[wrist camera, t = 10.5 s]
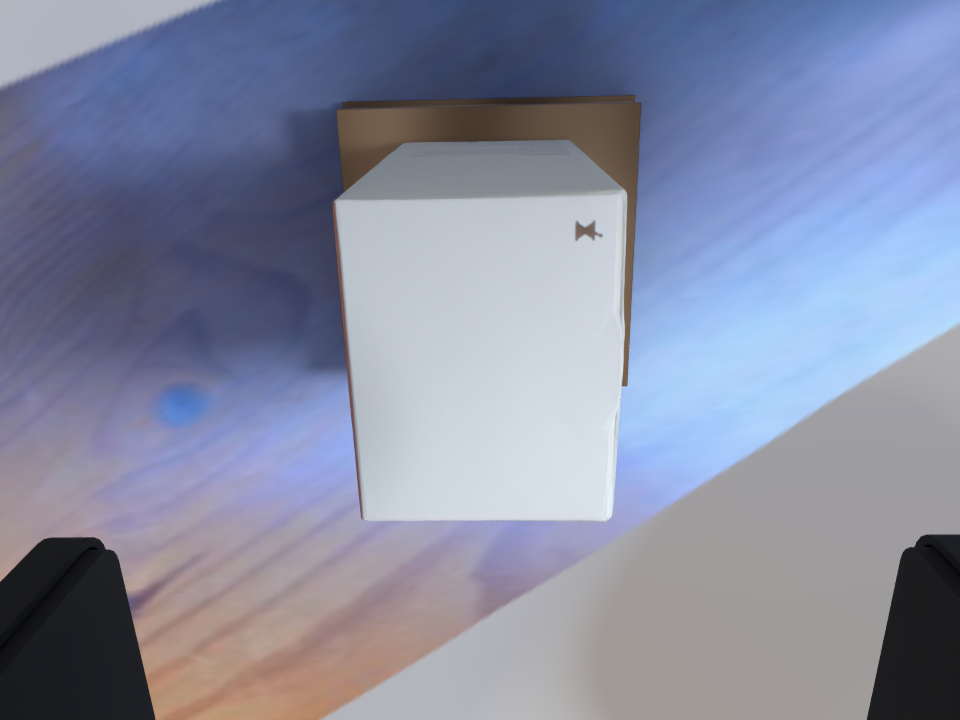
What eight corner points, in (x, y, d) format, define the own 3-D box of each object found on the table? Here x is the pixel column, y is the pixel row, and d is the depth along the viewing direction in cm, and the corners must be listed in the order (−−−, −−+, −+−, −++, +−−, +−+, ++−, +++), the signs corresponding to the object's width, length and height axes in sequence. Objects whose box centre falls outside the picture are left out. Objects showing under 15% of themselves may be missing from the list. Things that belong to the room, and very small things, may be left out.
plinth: (632, 95, 30) (646, 96, 27) (620, 364, 34) (631, 390, 31) (345, 102, 30) (330, 104, 27) (367, 368, 34) (355, 394, 31)
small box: (400, 140, 28) (326, 191, 16) (573, 137, 28) (636, 184, 15) (412, 348, 31) (357, 528, 18) (569, 346, 30) (620, 526, 18)
